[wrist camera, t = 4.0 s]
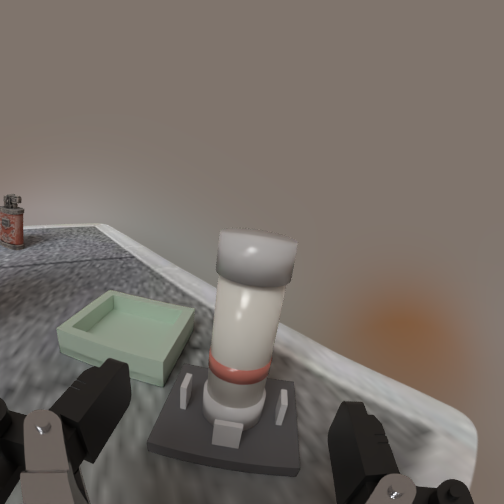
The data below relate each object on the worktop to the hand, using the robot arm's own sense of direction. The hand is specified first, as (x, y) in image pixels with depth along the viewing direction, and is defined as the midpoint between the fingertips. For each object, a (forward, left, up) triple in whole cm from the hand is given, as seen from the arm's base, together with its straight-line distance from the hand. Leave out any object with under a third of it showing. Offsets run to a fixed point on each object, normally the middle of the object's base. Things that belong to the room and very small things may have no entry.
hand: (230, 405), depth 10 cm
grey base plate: (0, +7, -8) cm, 11 cm away
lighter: (-48, +31, -8) cm, 57 cm away
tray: (-11, +14, -8) cm, 19 cm away
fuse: (0, +7, -7) cm, 10 cm away
